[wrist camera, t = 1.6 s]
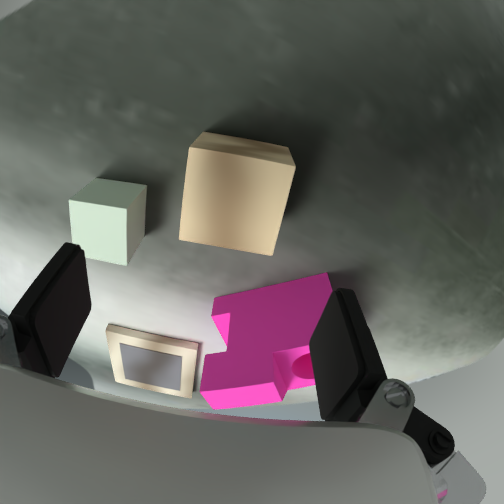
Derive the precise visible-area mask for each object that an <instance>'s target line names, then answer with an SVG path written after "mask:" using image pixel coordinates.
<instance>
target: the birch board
mask: <svg viewBox="0 0 504 504" xmlns="http://www.w3.org/2000/svg"><path fill="white" fill-rule="evenodd" d="M106 336H107V342H108V347H109V352H110V357H111V362H112V367H113V372H114V376H115V380H116V382H119V383H123V384H127V385H131V386H135V387H139V388H143V389H147V390H152V391H156V392H161V393H166V394H171V395H176V396H181V397H187V398H192V392H193V383H194V375H195V366H196V358H197V350H198V343H195V342H190V341H184V340H179V339H174V338H169V337H164V336H159V335H154V334H150V333H145V332H141V331H136V330H132V329H127V328H123V327H119V326H115V325H111V324H108V326H107V328H106Z"/></svg>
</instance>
